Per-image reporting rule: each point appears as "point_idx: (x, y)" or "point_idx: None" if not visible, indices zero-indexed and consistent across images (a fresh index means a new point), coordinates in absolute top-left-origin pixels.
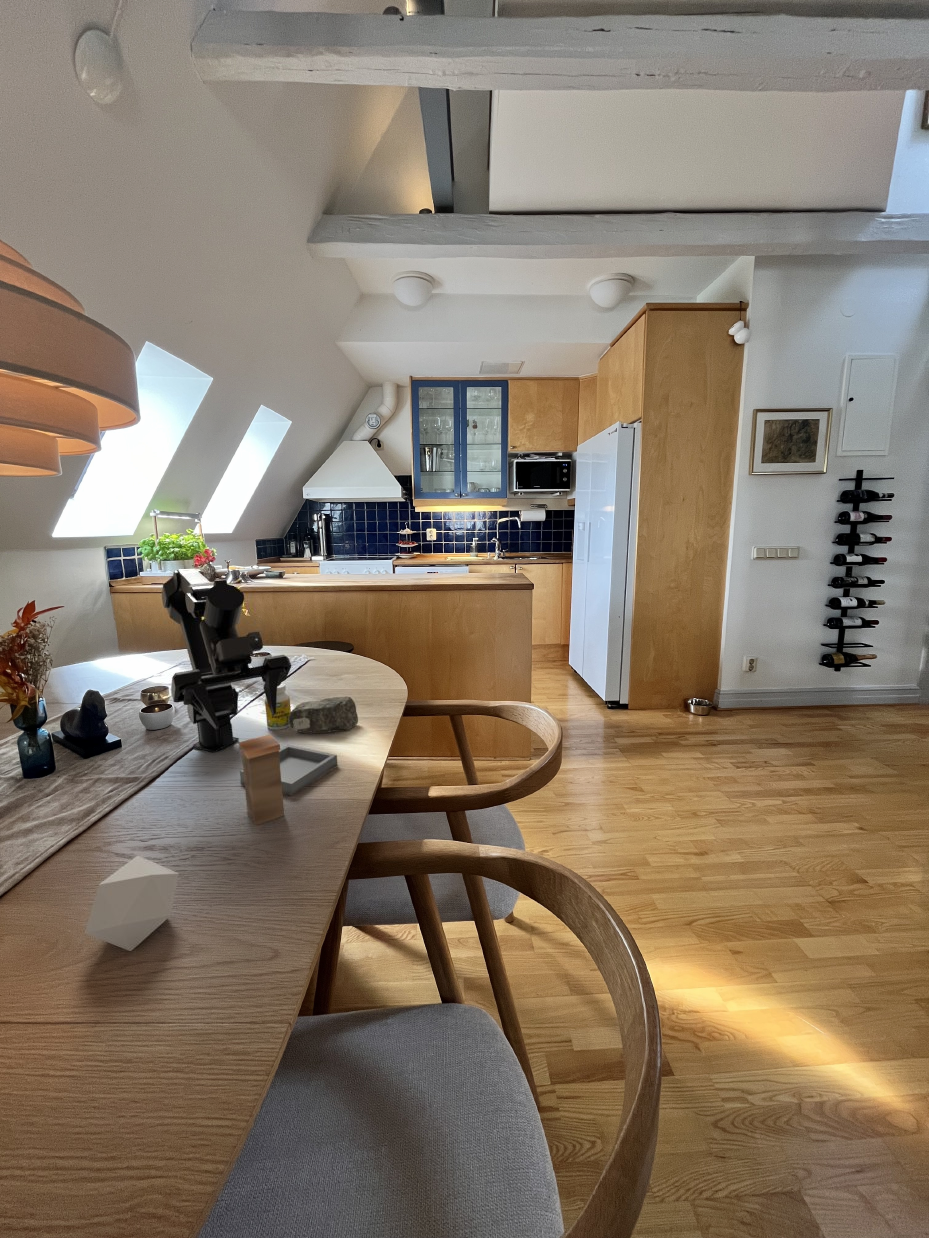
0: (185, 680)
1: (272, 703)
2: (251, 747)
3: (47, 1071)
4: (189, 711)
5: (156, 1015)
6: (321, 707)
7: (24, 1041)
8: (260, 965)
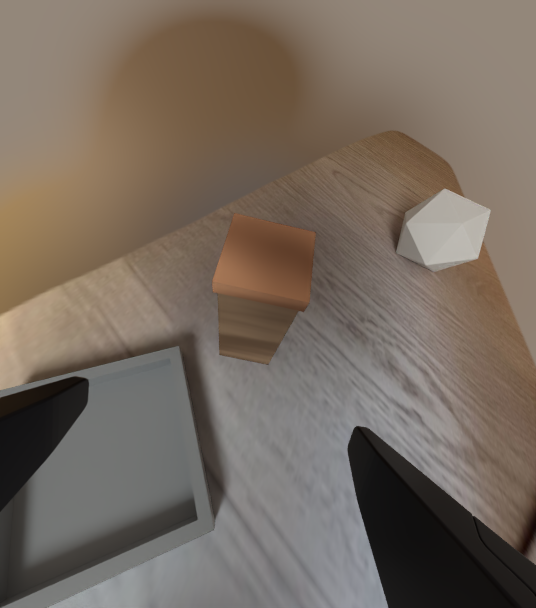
0: None
1: (41, 395)
2: (295, 248)
3: None
4: None
5: (404, 189)
6: None
7: None
8: (346, 173)
